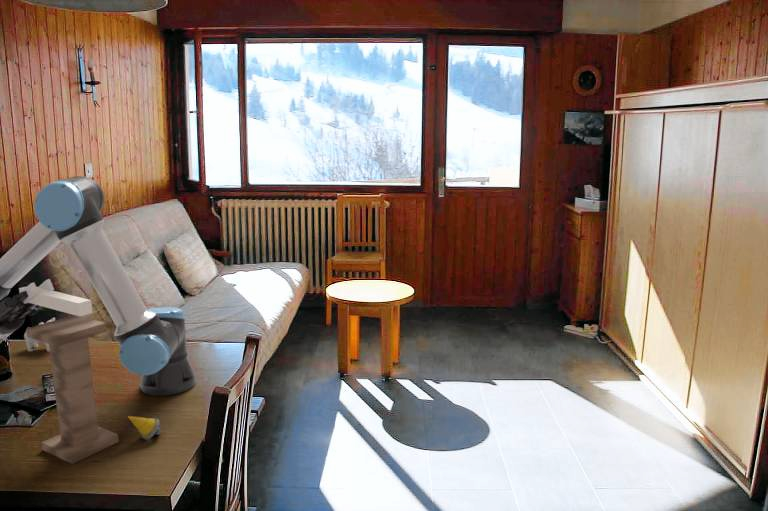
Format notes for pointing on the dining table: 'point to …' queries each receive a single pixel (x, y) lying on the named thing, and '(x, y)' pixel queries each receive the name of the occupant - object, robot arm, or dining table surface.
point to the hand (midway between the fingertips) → (42, 286)
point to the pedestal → (73, 388)
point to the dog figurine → (30, 340)
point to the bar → (61, 302)
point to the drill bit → (146, 426)
